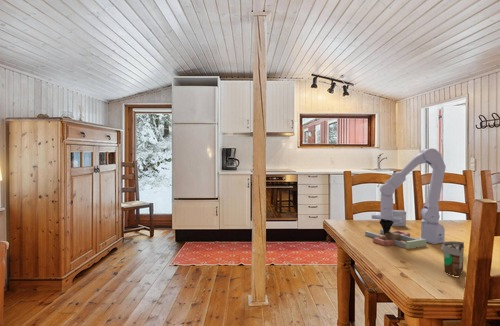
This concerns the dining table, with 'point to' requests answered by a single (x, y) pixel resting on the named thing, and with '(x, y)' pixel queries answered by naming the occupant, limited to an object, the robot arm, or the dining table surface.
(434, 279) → the dining table surface
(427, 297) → the dining table surface
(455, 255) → the food container
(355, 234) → the dining table surface
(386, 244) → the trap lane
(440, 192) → the robot arm
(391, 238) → the walnut block
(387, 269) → the dining table surface
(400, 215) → the medicine box
